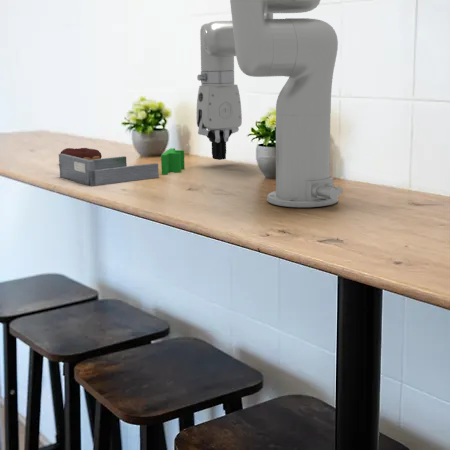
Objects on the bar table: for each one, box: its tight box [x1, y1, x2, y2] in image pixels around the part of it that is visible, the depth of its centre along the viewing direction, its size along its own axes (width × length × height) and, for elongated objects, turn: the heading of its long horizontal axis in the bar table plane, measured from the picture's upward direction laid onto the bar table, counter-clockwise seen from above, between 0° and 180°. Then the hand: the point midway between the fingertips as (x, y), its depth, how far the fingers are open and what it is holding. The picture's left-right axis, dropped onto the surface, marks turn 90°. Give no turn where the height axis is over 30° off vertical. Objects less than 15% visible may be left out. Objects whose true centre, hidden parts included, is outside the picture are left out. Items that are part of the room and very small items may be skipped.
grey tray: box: [58, 153, 159, 187], centre depth 167 cm, size 15×16×5 cm
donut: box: [59, 147, 102, 160], centre depth 187 cm, size 10×10×4 cm
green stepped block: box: [160, 147, 186, 176], centre depth 175 cm, size 11×4×5 cm, turn 173°
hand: (219, 158), depth 181 cm, fingers closed
